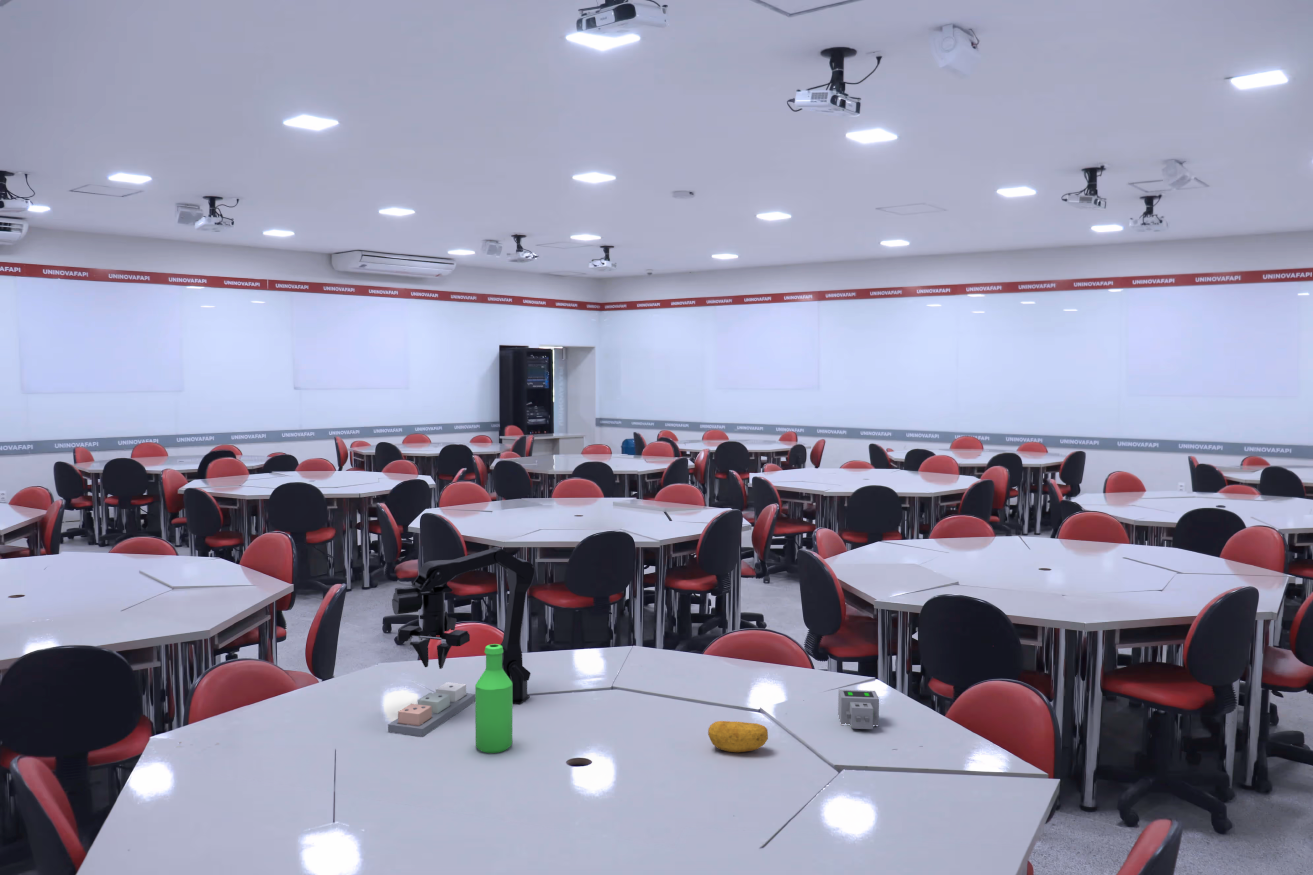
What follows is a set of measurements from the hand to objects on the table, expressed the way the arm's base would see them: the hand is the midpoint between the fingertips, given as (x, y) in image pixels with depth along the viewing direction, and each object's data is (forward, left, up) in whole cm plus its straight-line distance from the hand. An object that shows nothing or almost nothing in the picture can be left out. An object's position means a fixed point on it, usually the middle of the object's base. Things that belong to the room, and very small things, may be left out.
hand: (433, 667), depth 229 cm
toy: (-109, -29, -13) cm, 114 cm away
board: (0, 0, -13) cm, 13 cm away
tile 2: (0, 0, -11) cm, 11 cm away
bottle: (-25, +14, -13) cm, 32 cm away
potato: (-82, -2, -13) cm, 83 cm away
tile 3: (0, +9, -11) cm, 14 cm away
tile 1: (0, -9, -11) cm, 14 cm away
